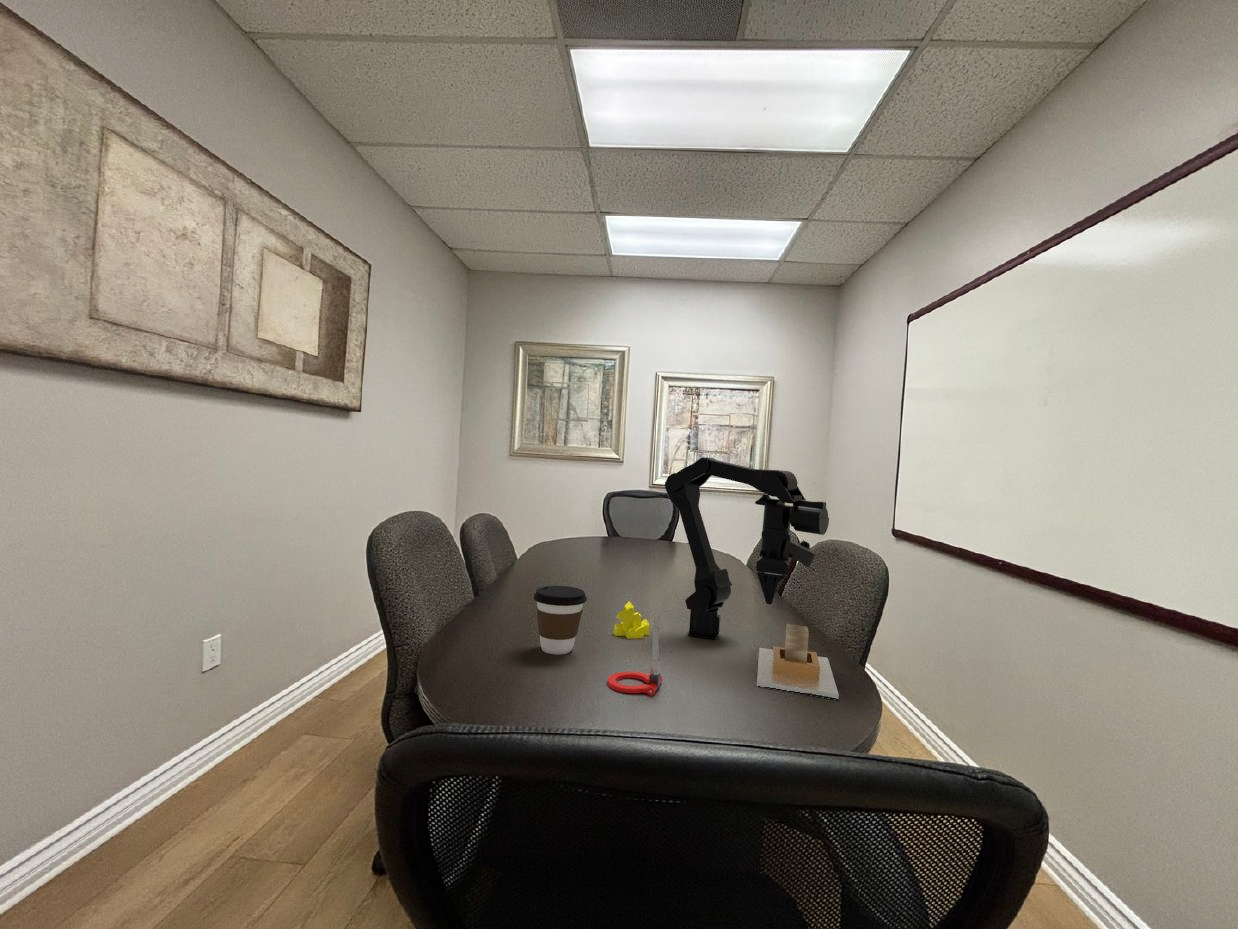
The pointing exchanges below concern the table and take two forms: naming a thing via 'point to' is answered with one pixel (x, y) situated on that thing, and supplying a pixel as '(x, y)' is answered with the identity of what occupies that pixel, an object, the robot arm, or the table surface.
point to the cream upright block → (796, 643)
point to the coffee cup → (558, 617)
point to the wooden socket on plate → (795, 673)
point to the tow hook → (651, 679)
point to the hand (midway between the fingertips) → (769, 599)
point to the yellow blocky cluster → (631, 623)
